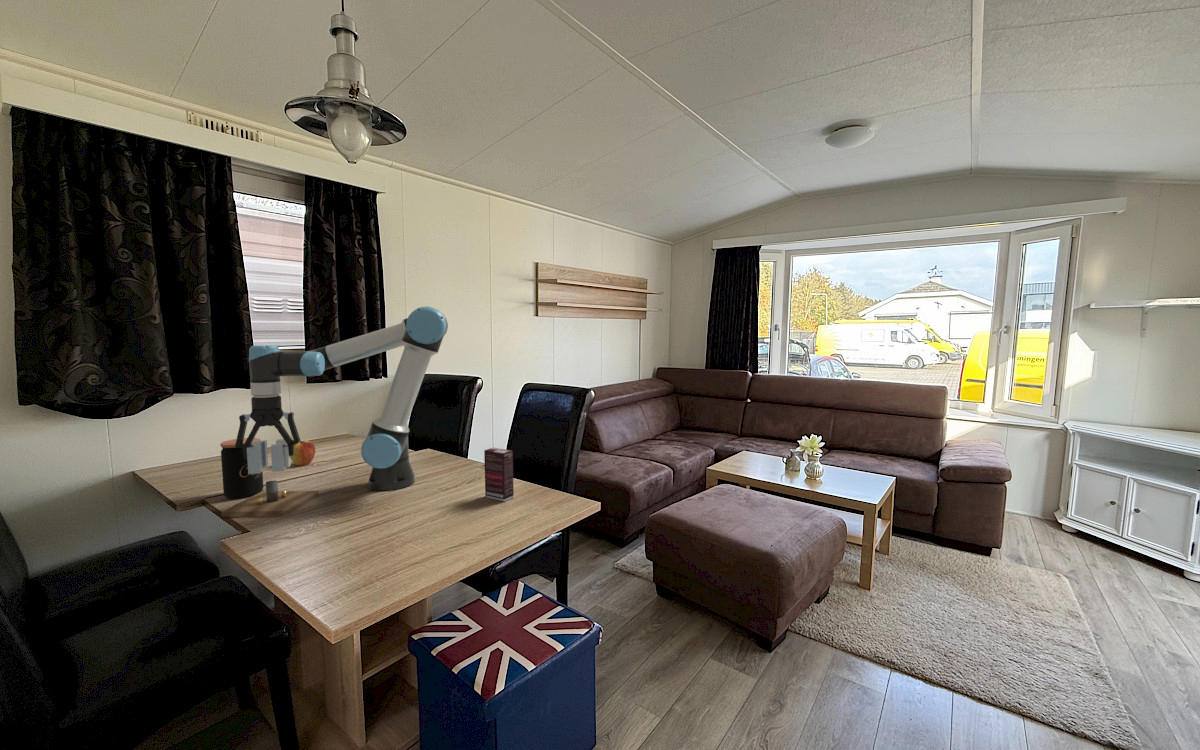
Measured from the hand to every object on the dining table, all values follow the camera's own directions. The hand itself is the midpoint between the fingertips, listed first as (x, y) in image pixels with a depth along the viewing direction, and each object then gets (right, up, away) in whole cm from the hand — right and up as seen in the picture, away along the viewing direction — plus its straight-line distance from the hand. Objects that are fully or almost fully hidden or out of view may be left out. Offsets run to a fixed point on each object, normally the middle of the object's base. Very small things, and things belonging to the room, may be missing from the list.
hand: (269, 467), depth 148 cm
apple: (-19, -8, +47) cm, 51 cm away
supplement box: (+69, -12, +9) cm, 71 cm away
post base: (0, -12, +1) cm, 12 cm away
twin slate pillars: (0, 0, 0) cm, 0 cm away
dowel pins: (0, -10, +1) cm, 10 cm away
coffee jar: (-16, -11, +11) cm, 23 cm away
